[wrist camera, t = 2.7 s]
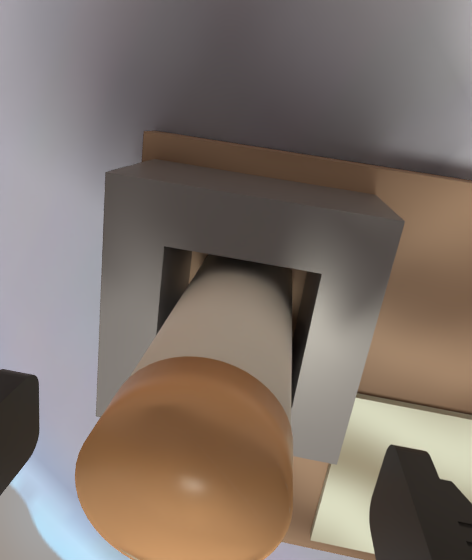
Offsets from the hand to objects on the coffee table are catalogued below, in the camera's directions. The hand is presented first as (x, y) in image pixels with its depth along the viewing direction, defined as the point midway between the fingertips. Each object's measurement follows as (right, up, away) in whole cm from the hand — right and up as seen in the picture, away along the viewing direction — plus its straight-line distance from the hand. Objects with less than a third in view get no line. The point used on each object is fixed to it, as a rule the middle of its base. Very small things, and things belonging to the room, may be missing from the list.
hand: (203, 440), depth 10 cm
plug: (+1, +4, +9) cm, 10 cm away
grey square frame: (+1, +4, +9) cm, 10 cm away
